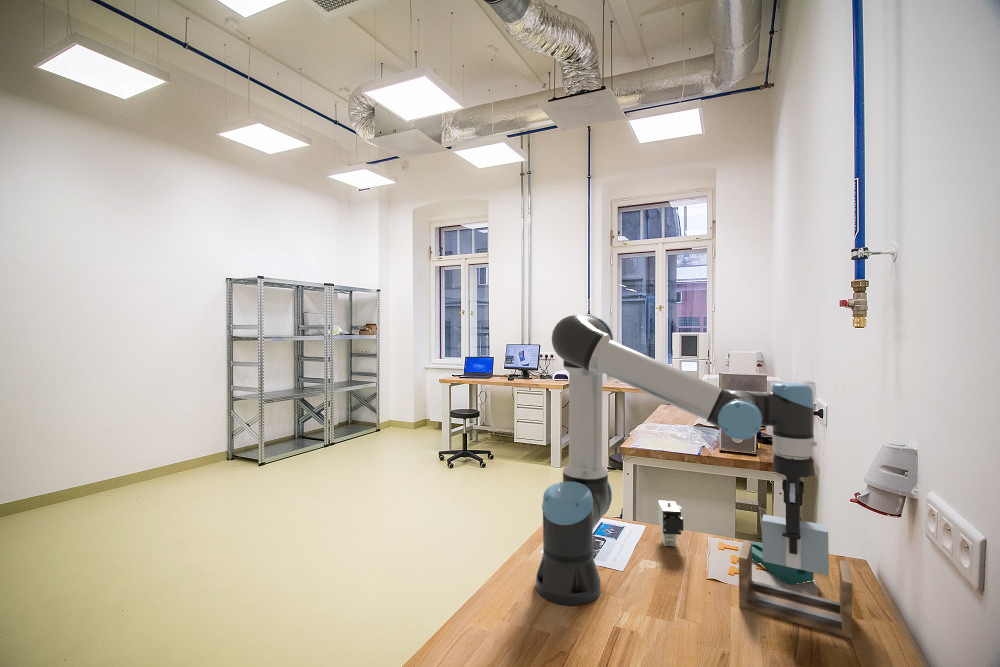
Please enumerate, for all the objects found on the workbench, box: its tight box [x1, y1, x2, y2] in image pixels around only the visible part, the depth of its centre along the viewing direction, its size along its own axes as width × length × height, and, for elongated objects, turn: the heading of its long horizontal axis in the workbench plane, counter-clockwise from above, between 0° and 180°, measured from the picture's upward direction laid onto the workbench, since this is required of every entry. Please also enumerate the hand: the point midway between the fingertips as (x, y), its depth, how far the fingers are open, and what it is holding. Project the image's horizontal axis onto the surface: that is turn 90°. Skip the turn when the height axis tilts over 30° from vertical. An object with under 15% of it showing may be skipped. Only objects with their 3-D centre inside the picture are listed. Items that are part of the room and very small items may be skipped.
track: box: [738, 539, 853, 639], centre depth 103 cm, size 20×10×11 cm, turn 57°
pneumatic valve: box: [657, 499, 684, 547], centre depth 134 cm, size 6×12×12 cm, turn 170°
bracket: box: [752, 541, 815, 586], centre depth 122 cm, size 18×7×8 cm, turn 11°
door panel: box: [761, 514, 830, 577], centre depth 102 cm, size 12×4×9 cm, turn 57°
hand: (793, 562), depth 103 cm, fingers closed on door panel, 4 cm apart
